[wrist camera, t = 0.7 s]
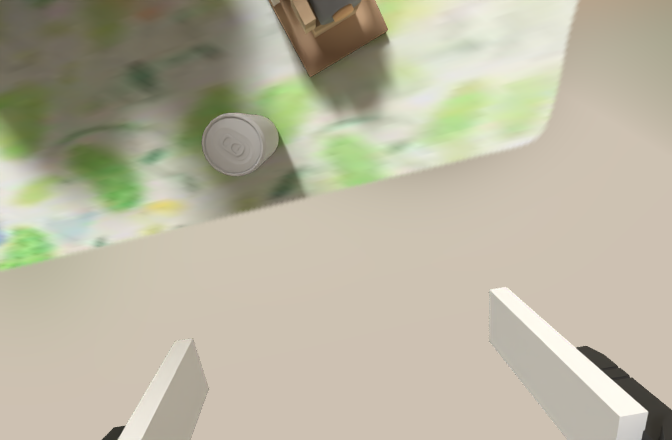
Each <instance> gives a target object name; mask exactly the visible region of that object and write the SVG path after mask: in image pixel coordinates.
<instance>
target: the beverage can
mask: <svg viewBox="0 0 672 440" xmlns="http://www.w3.org/2000/svg"><path fill="white" fill-rule="evenodd" d="M278 141H279V136H278V131H277V128H276V127H275V125H274V124H273V122H272V121H270V120H269V119H268V118H266V117H264V116H260V115H251V114H243V113H226V114H222V115H219V116H218V117H216V118H215V119H213V120H212V121H211V122H210V123H209V124H208V126H207V127H206V128H205V131H204V133H203V136H202V149H203V153H204V155H205V158H206V160H207V161H208V162H209V164H210V165H211V166H212V167H213V168H214V169H216V170H217V171H219V172H221V173H223V174H225V175H230V176H243V175H247V174H250V173H251V172H253V171H254V170H256V169H257V168H258V167H259V166H260V165H261V164H263V163H264V162H265V161H266V160H267V159H268V158H269V157H270V156H271V155H272V154H273V153H274V152H275V150H276V148H277V146H278Z"/></svg>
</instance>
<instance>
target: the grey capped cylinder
mask: <svg viewBox="0 0 672 440" xmlns="http://www.w3.org/2000/svg"><path fill="white" fill-rule="evenodd" d="M309 2H310V4H311V6H312V8H313V10H314V12H315V14H316V16H317V18H318V20H319V22H320V24H321V25H326V24H328V23H331V22H333V21H335V22H338V21H340V20H342V19H343V18H345V17H346V16H348V15H349V14H350V13H352V12H353V10H354V7H355V6H356V5H358V4H359V3H360V2H361V0H309Z"/></svg>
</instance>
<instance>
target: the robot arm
mask: <svg viewBox="0 0 672 440" xmlns="http://www.w3.org/2000/svg"><path fill="white" fill-rule="evenodd" d="M489 293H490V294H489V298H490V299H489V300H490V301H489V342H490V343H491V344H492V346H493V347H494V348H495V349H496V351H497V352H498V353H499V354H500V355H501V357H502V358H503V359H504V361H505V362H506V363H507V364H508V366H509V367H510V368H511V369H512V371H513V372H514V373H515V375H516V376H517V377H518V378H519V379H520V381H521V382H522V383H523V385H524V386H525V387H526V388H527V390H528V391H529V392H530V393H531V395H532V396H533V397H534V398H535V400H536V401H537V402H538V404H539V405H540V406H541V407H542V409H543V410H544V411H545V412H546V414H547V415H548V416H549V417H550V419H551V420H552V421H553V422H554V424H555V425H556V426H557V427H558V429H559V430H560V431H561V433H562V434H563V435H564V436H565V438H566V439H567V440H672V410H671V409H670V408H669V407H667V406H666V405H665V404H664V403H662V402H661V401H660V400H659V399H658V398H656V397H655V396H654V395H653V394H651V393H650V392H649V391H648V390H647V389H645V388H644V387H643V386H642V385H640V384H639V383H638V382H637V381H636V380H634V379H633V378H630V377H629V375H628V374H627V373H626V372H625V371H623V370H622V369H621V368H618V366H617V365H616V364H615V363H613V362H612V361H611V360H610V359H609V358H607V357H606V356H605V355H604V354H602V353H600V352H597V351H596V350H593V349H592V348H590V347H588V346H583V347H577V348H575V347H574V346H573V345H572V344H570V343H569V342H568V341H567V340H566V339H565V338H564V337H563V336H562V335H560V334H559V333H558V332H557V331H556V330H555V329H554V328H552V327H551V326H550V325H549V324H548V323H547V322H545V321H544V320H543V319H542V318H541V317H540V316H539V315H538V314H536V313H535V312H534V311H533V310H532V309H531V308H530V307H528V306H527V305H526V304H525V303H524V302H523V301H521V299H519V298H518V297H517V296H516V295H515V294H514V293H513V292H511V291H510V290H509V289H508V288H507V287H503V288H497V289H491V290H490V291H489ZM208 390H209V388H208V385H207V381H206V378H205V375H204V372H203V369H202V366H201V362H200V359H199V356H198V353H197V350H196V347H195V344H194V340H193V338H191V339H184V340H178V341H175V342H174V344H173V345H172V347H171V349H170V350H169V352H168V354H167V356H166V357H165V359H164V361H163V363H162V364H161V366H160V368H159V370H158V371H157V373H156V375H155V376H154V378H153V380H152V382H151V383H150V385H149V387H148V389H147V390H146V392H145V394H144V395H143V397H142V399H141V400H140V402H139V404H138V406H137V408H136V409H135V411H134V413H133V414H132V416H131V418H130V419H129V421H128V423H127V425H126V426H121V427H115V428H113V429H112V430H111V431H110V432H109V433H108V434H107V435H106V436H105V437H104V438H103V439H102V440H190V439H191V437H192V434H193V431H194V429H195V426H196V423H197V420H198V417H199V414H200V412H201V409H202V406H203V403H204V401H205V398H206V395H207V392H208Z"/></svg>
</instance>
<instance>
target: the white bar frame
mask: <svg viewBox="0 0 672 440" xmlns="http://www.w3.org/2000/svg"><path fill="white" fill-rule="evenodd" d="M271 2H272V4H273V6H275V5H277V4H278V3H280V0H271Z"/></svg>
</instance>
